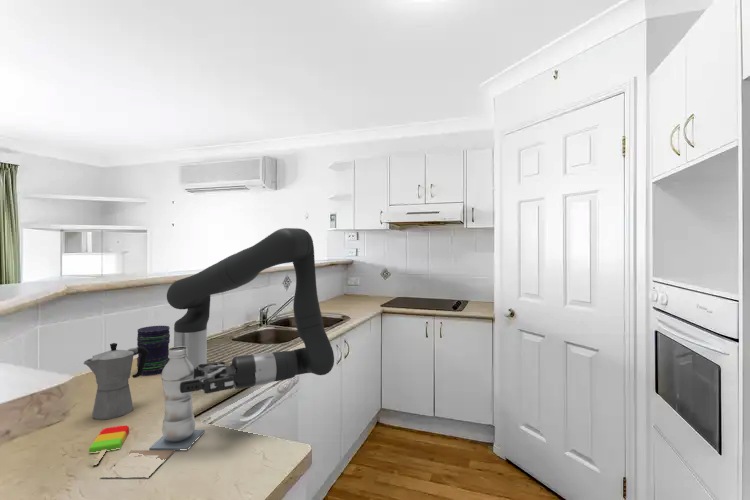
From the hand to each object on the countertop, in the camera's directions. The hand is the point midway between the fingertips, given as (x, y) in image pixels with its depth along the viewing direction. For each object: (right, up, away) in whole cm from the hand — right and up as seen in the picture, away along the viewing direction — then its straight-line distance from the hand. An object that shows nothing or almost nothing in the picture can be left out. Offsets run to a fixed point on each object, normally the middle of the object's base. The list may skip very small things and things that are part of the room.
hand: (179, 381), depth 83 cm
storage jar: (-34, -13, +48) cm, 60 cm away
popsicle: (-14, -14, -3) cm, 20 cm away
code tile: (-3, -13, -9) cm, 16 cm away
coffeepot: (-24, -13, +16) cm, 32 cm away
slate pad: (0, -13, 0) cm, 13 cm away
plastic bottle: (0, -13, 0) cm, 13 cm away
